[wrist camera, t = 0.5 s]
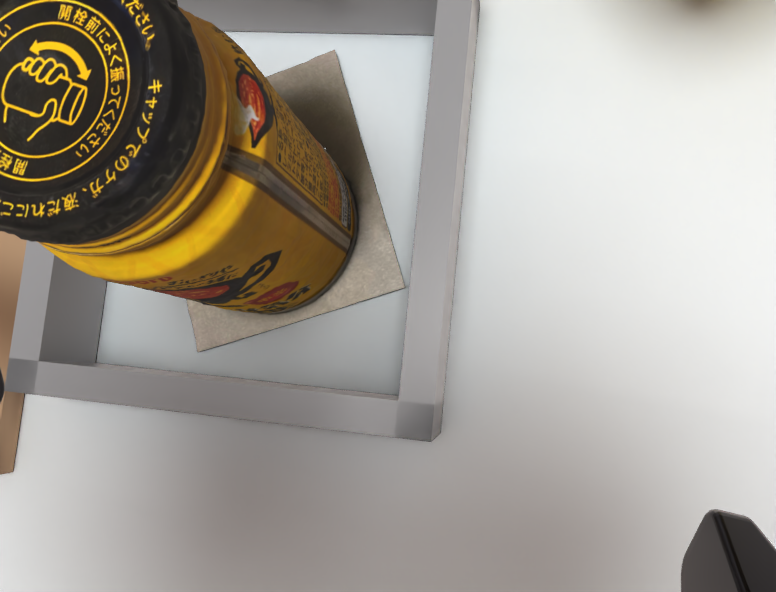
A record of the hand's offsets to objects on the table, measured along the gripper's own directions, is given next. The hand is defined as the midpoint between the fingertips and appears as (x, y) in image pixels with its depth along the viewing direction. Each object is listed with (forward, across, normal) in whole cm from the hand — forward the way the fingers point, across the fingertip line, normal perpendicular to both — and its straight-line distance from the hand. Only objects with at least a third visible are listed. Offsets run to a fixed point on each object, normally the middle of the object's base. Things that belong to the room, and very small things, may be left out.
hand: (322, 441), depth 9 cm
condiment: (+15, +6, +4) cm, 16 cm away
